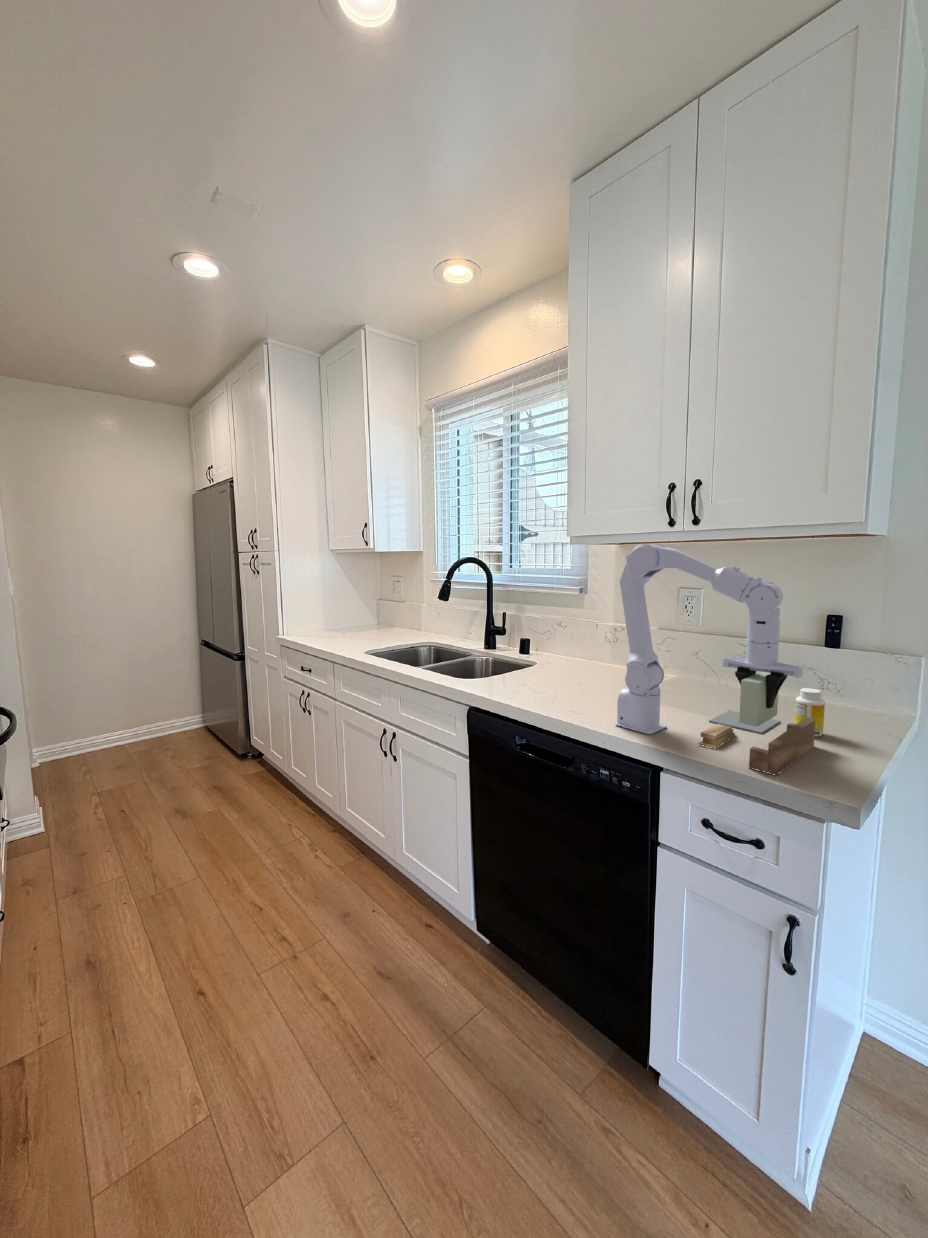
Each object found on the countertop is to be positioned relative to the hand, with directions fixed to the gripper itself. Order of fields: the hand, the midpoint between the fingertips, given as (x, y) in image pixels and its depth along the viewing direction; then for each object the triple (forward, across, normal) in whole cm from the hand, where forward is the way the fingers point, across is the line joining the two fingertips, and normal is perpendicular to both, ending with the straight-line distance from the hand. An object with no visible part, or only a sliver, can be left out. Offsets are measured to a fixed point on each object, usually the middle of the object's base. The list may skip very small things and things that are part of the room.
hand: (759, 705), depth 107 cm
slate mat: (+10, +9, -17) cm, 22 cm away
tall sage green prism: (+3, 0, 0) cm, 3 cm away
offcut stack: (+10, +8, 0) cm, 13 cm away
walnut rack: (+10, -5, 0) cm, 11 cm away
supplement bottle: (+10, -4, -19) cm, 22 cm away
